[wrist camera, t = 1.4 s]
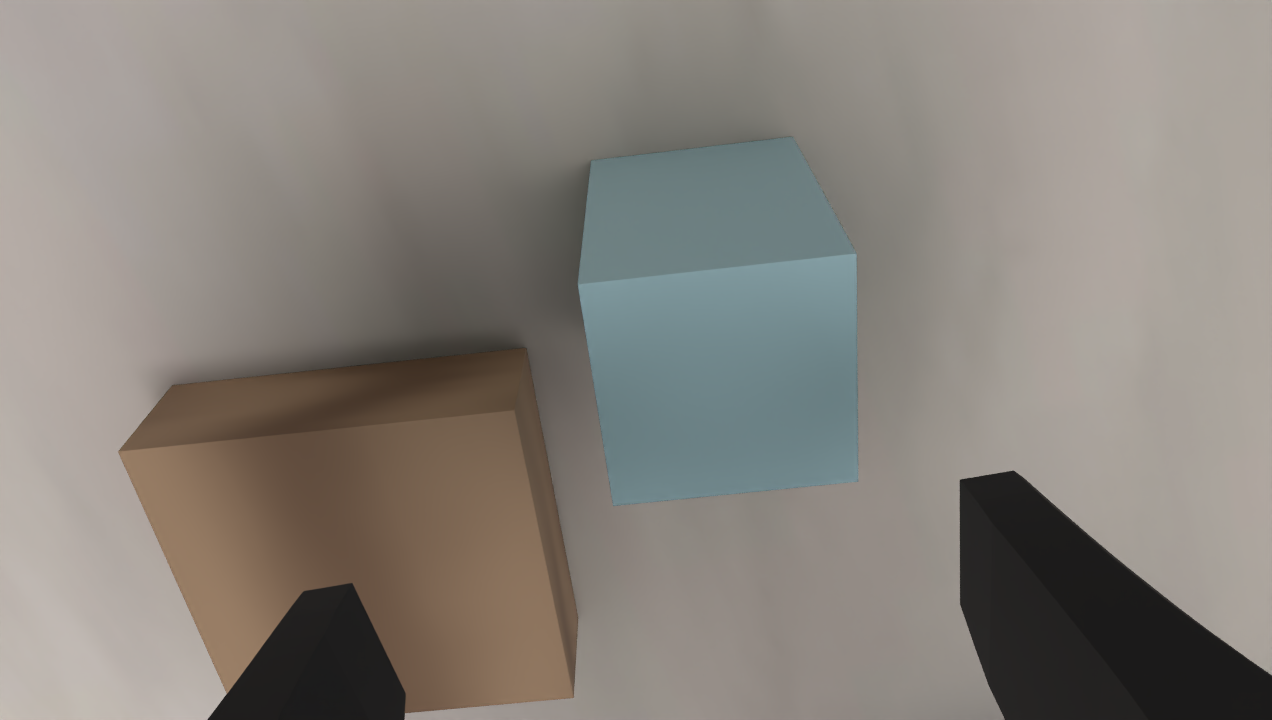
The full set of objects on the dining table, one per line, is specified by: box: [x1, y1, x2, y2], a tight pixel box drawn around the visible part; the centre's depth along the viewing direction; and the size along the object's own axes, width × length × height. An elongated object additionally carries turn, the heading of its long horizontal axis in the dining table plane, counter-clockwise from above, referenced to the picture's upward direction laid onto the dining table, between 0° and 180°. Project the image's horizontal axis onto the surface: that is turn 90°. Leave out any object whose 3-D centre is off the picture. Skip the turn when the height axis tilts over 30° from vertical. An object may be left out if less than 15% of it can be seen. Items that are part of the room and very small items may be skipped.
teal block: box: [578, 137, 858, 506], centre depth 17 cm, size 4×4×6 cm
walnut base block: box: [118, 348, 578, 713], centre depth 22 cm, size 8×8×3 cm
